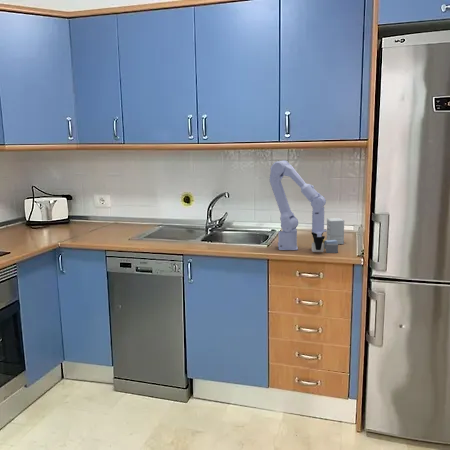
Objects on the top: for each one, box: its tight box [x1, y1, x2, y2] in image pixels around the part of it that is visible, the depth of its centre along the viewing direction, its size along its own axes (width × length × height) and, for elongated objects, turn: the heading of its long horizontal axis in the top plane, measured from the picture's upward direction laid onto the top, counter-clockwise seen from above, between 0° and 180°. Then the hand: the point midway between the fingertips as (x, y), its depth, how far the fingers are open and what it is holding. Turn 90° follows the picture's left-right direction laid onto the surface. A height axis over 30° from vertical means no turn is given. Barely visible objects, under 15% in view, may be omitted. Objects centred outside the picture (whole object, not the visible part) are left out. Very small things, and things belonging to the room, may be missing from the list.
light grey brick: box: [311, 242, 325, 253], centre depth 229 cm, size 6×3×4 cm, turn 84°
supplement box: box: [326, 217, 345, 245], centre depth 244 cm, size 7×7×13 cm
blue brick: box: [324, 239, 337, 250], centre depth 234 cm, size 6×3×4 cm, turn 104°
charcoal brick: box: [325, 244, 339, 254], centre depth 226 cm, size 6×3×4 cm, turn 84°
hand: (317, 248), depth 229 cm, fingers open, 6 cm apart
